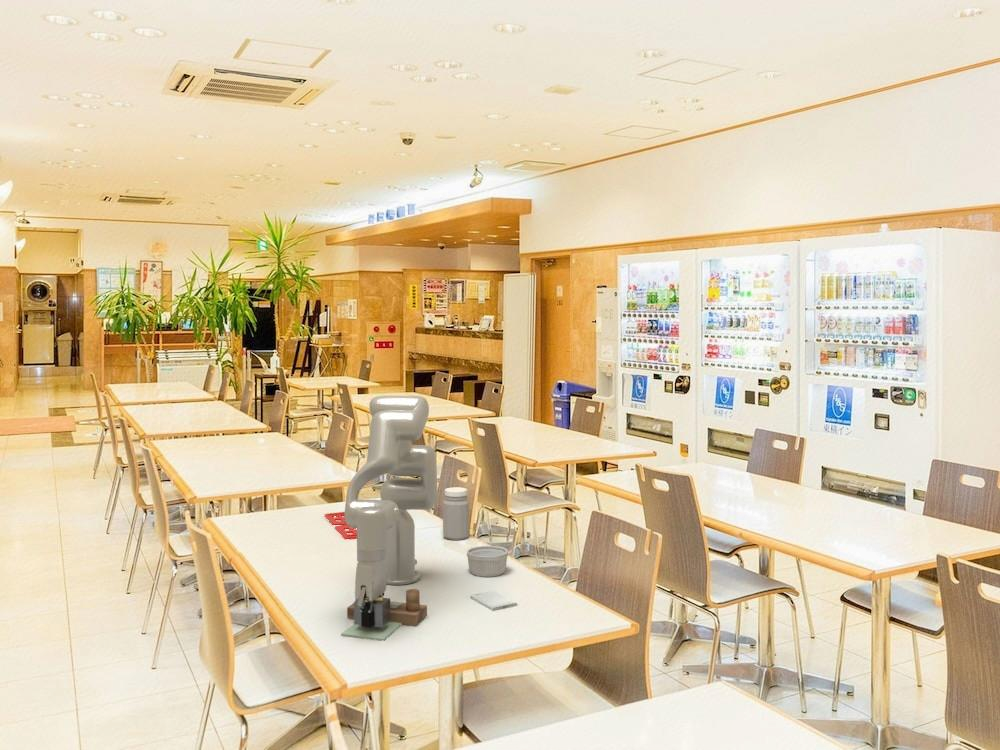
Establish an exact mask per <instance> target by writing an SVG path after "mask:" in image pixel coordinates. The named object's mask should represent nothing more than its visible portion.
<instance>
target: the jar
mask: <svg viewBox="0 0 1000 750" xmlns="http://www.w3.org/2000/svg"><path fill="white" fill-rule="evenodd" d="M467 495H468V489H467V488H466V487H465V488H464V487H457V486H454V487H447V488H445V489H444V500H443V501H442V535H443V537H444V538H445V539H446V540H449V541H463V540H466V539H467V538H468V537H469V536H470V502H469V499H468V496H467Z"/></svg>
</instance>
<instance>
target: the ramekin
mask: <svg viewBox="0 0 1000 750" xmlns="http://www.w3.org/2000/svg"><path fill="white" fill-rule="evenodd" d="M466 556H467V563H468V570H469V571H470V573H471V574H472V575H474V576H477V577H482V578H491V577H497V576H501V575H503V574H504V573H505V572H506V569H507V562H508V561H507V560H508V556H509V550H508V549H507V548H505V547H502V546H498V545H495V546H494V545H479V546H473V547H470V548H469V549H467V550H466Z"/></svg>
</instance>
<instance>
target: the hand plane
mask: <svg viewBox="0 0 1000 750" xmlns="http://www.w3.org/2000/svg"><path fill="white" fill-rule="evenodd" d="M420 592H421V591H420V589H417V588H409V589H407V590H406V591H405V602H399V601H392V600H390V620H391V621H390V622H398V623H402V625H401V626H409V627H410V626H411V627H417V626H418V625H419V624H421V622H422V621H423V620H425V619H426V618H427V617H428V605H427V604H426V605H425V604H421V603H420ZM354 601H356V599H355V598H354ZM346 616H347V617H346V619H348V620H354V602H353V603H352V604H350V605H349V606H348V607H347V608H346ZM426 616H427V617H426Z"/></svg>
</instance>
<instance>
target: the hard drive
mask: <svg viewBox="0 0 1000 750" xmlns="http://www.w3.org/2000/svg"><path fill="white" fill-rule="evenodd" d="M470 599H471V600H472V601H474V602H476V603H477V604H479V605H480V606H483V607H485V608H487V609H488V610H491V612H494V611H500V610H504V609H509V608H513V607H518V603H517V602H516V601H514V600H512V599H510V598H508V597H507V596H505V595H503V594H501V593H499V592H498V591H497V590H496V591H495V590H494V589H493V590H488V591H483V592H479V593H474V594H471V595H470Z"/></svg>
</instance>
